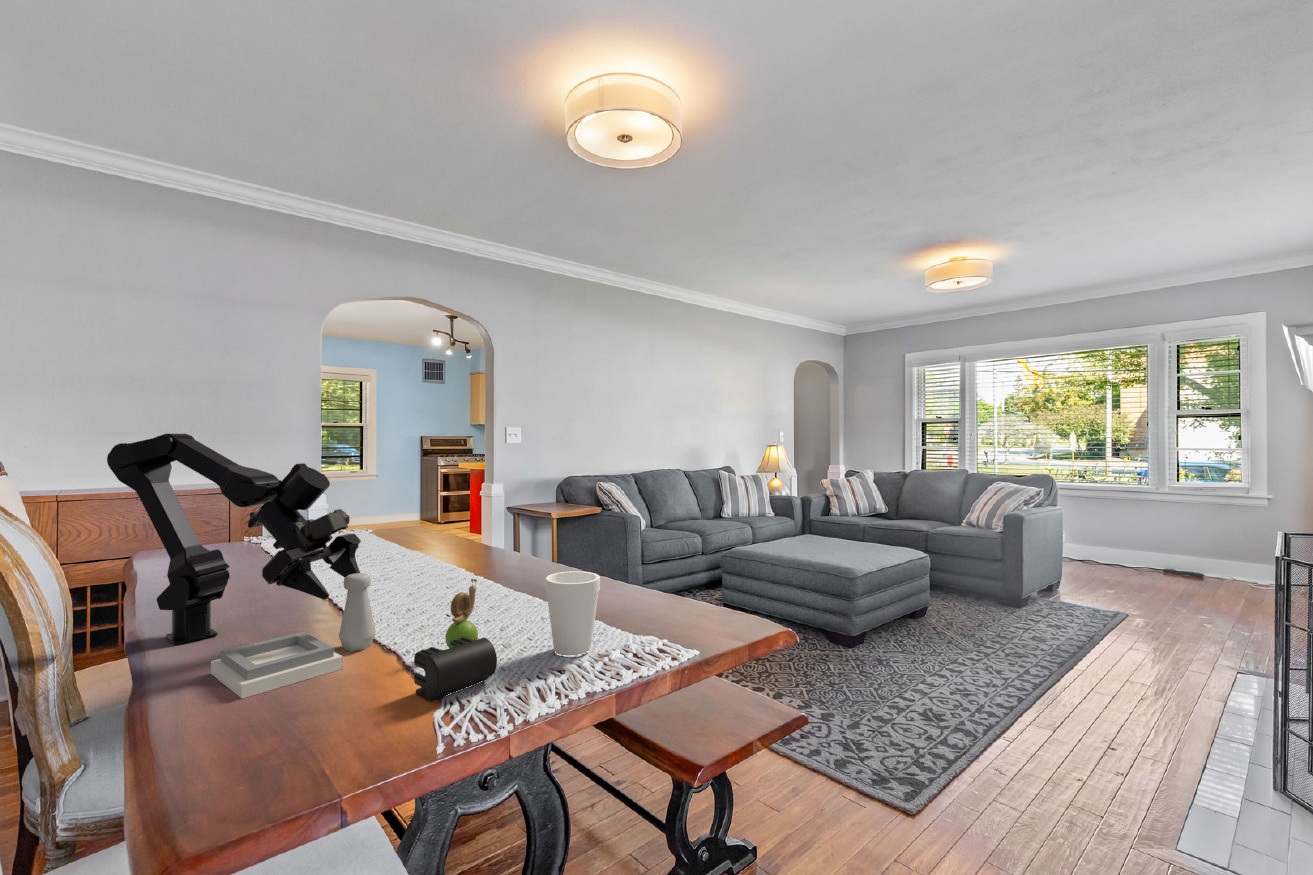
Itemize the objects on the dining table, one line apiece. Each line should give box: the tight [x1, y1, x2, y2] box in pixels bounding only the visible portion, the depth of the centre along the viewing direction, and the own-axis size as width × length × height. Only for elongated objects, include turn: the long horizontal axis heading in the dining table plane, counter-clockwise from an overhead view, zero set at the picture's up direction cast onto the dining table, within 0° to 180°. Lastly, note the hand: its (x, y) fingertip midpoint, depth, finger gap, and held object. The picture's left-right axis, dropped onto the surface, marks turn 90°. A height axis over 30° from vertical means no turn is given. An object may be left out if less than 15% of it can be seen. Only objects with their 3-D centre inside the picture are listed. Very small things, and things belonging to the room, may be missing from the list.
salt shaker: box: [338, 572, 376, 652], centre depth 105 cm, size 6×6×13 cm
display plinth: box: [210, 631, 344, 699], centre depth 95 cm, size 14×14×4 cm
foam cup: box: [545, 570, 601, 655], centre depth 104 cm, size 10×9×13 cm
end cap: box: [413, 637, 498, 703], centre depth 88 cm, size 10×7×7 cm
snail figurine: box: [444, 578, 479, 649], centre depth 104 cm, size 5×6×12 cm
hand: (344, 590), depth 106 cm, fingers open, 9 cm apart
